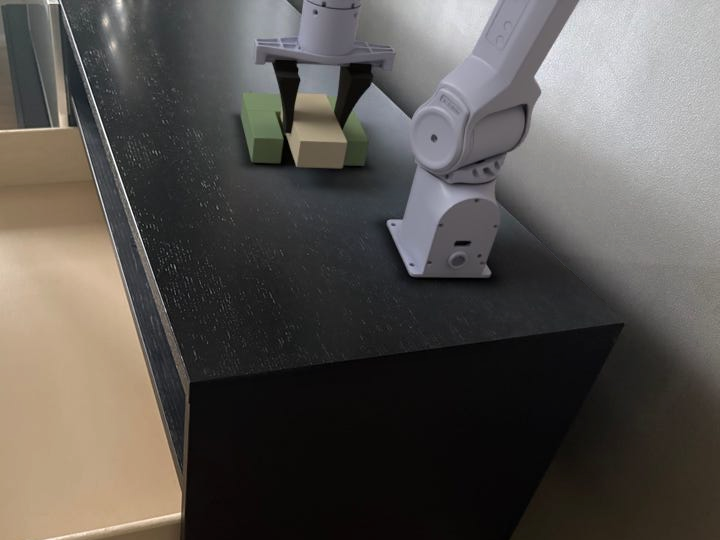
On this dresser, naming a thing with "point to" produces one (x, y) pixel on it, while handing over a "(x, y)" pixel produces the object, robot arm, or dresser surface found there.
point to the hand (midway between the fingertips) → (312, 130)
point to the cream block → (316, 133)
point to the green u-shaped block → (268, 133)
